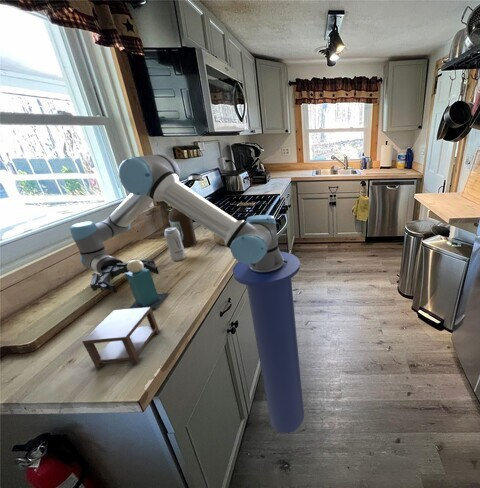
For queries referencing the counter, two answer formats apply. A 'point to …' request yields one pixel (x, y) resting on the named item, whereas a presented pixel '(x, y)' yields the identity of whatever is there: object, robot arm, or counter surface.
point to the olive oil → (183, 227)
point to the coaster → (153, 305)
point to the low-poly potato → (219, 239)
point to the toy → (141, 283)
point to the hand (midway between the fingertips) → (137, 279)
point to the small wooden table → (121, 336)
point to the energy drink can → (174, 243)
